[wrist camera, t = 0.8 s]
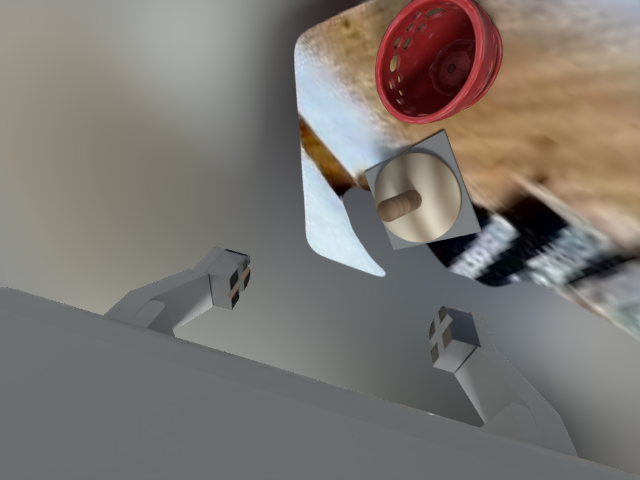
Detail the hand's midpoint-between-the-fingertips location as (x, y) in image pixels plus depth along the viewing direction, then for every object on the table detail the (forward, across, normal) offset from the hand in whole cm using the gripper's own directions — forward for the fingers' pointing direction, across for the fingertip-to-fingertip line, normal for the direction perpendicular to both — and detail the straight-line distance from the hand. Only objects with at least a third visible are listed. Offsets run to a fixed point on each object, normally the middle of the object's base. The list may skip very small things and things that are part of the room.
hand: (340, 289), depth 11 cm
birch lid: (+40, -10, +13) cm, 43 cm away
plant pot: (+41, -10, -7) cm, 43 cm away
